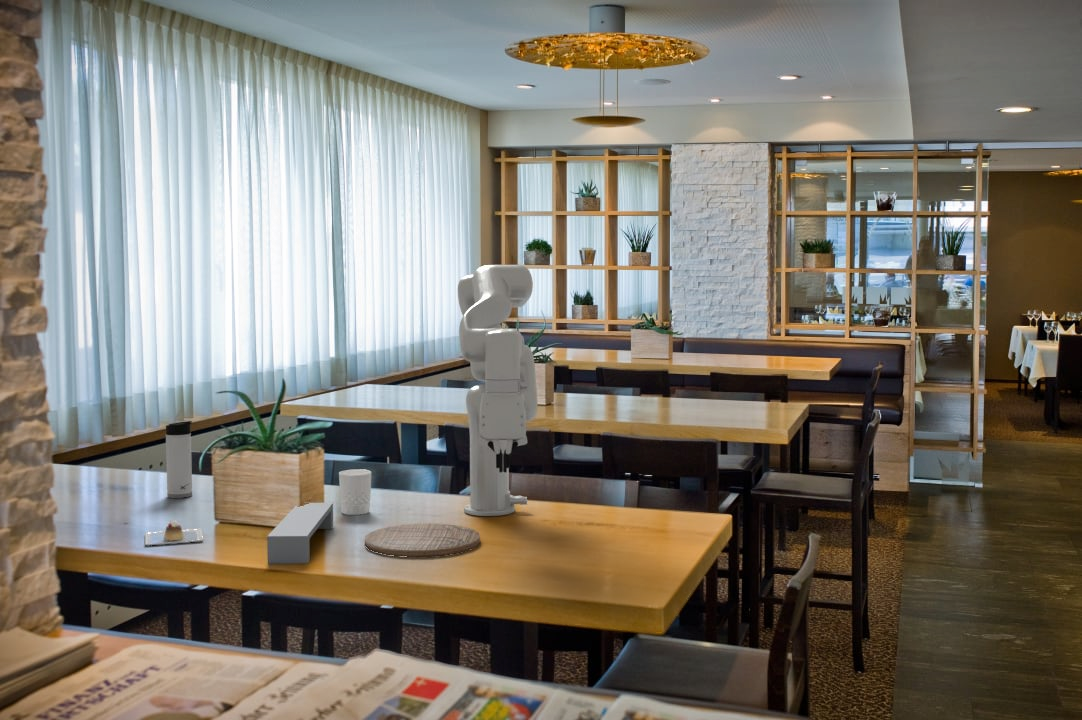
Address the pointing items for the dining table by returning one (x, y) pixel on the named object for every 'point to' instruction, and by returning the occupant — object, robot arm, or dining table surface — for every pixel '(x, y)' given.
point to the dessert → (174, 534)
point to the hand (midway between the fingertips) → (503, 471)
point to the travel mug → (179, 460)
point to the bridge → (298, 533)
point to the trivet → (422, 540)
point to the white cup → (355, 491)
